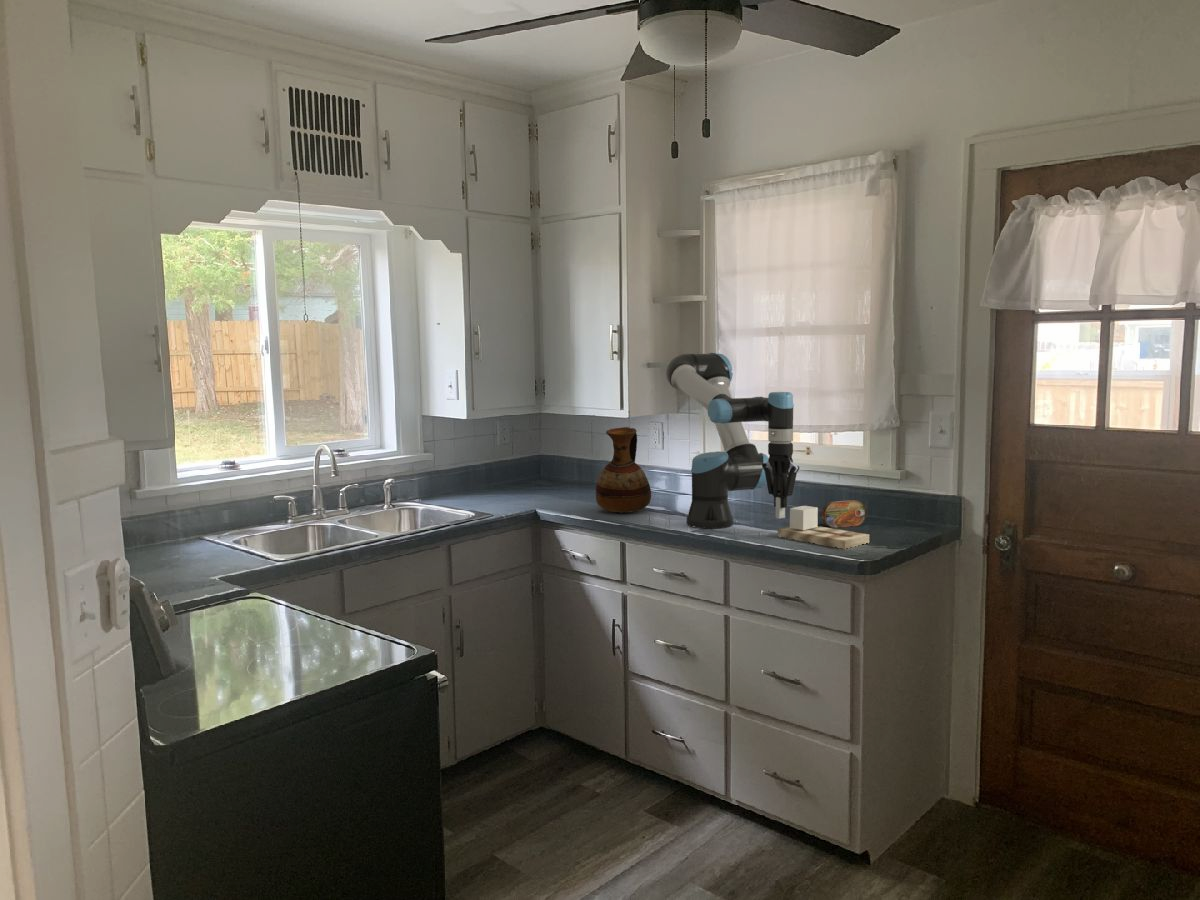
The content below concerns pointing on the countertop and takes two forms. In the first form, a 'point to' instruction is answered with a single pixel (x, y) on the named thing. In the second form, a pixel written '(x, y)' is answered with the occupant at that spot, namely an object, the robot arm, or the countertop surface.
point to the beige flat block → (825, 536)
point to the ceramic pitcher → (623, 476)
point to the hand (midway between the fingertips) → (780, 517)
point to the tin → (844, 513)
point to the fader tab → (803, 517)
